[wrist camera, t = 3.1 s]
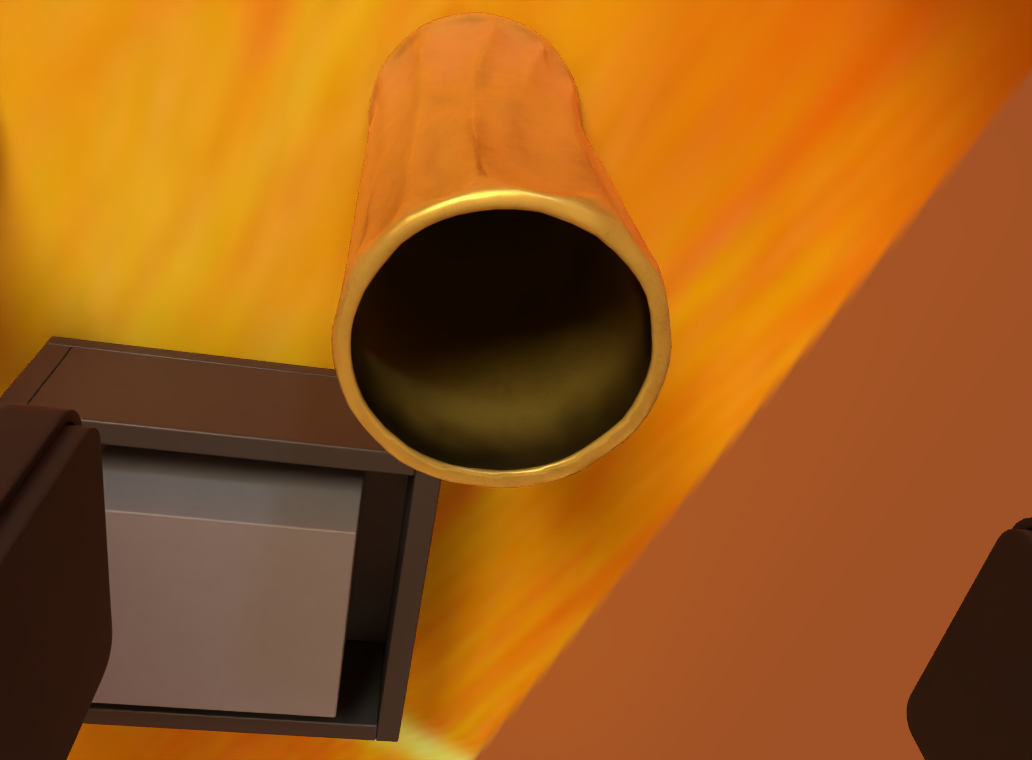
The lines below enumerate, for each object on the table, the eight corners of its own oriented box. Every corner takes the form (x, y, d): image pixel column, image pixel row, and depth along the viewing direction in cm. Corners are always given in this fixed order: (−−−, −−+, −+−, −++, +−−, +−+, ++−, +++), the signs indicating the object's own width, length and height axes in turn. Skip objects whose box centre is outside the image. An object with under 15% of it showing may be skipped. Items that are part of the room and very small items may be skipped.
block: (132, 594, 33) (85, 702, 29) (124, 413, 29) (69, 506, 25) (349, 611, 34) (335, 718, 30) (369, 439, 30) (356, 533, 26)
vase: (588, 209, 27) (706, 486, 15) (391, 237, 27) (347, 537, 15) (569, -4, 24) (698, 125, 12) (348, 28, 24) (250, 190, 12)
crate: (76, 624, 34) (29, 720, 30) (51, 335, 28) (-12, 409, 24) (403, 648, 36) (397, 742, 32) (445, 382, 30) (445, 458, 26)
